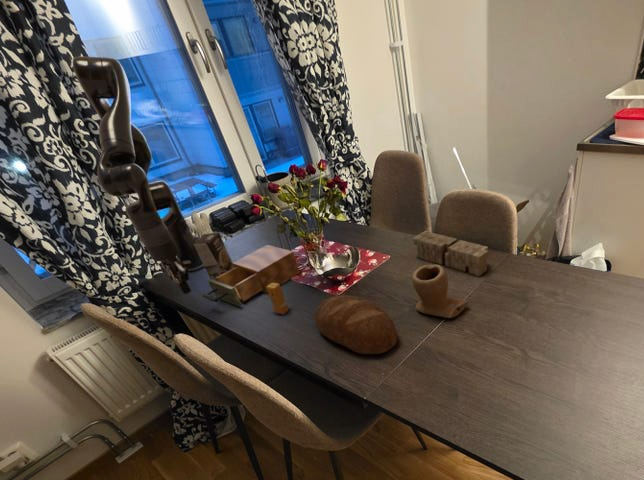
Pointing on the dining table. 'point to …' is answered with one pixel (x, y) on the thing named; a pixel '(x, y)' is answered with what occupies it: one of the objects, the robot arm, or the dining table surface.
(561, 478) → the dining table surface
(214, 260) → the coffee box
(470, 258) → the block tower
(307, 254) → the snack carton
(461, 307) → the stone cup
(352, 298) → the bread
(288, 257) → the cabinet
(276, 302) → the supplement box
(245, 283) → the drawer
